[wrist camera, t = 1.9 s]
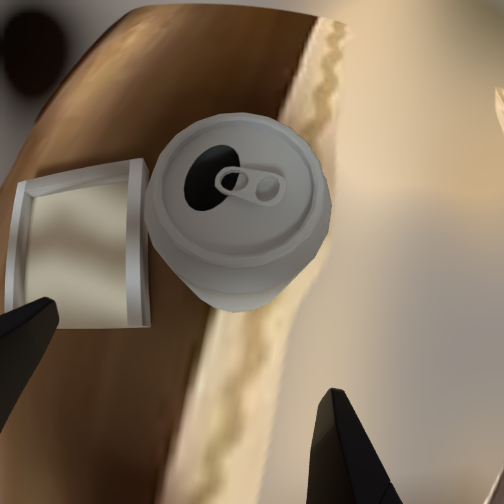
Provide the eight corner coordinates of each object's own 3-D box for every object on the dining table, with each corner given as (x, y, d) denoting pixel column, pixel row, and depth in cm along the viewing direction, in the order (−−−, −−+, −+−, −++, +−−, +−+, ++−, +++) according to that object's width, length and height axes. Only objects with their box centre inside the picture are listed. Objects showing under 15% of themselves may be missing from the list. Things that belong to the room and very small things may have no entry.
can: (209, 196, 23) (189, 79, 12) (304, 231, 23) (362, 135, 11) (167, 288, 21) (94, 235, 10) (268, 329, 21) (306, 322, 9)
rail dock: (151, 326, 21) (142, 325, 19) (20, 327, 20) (4, 325, 18) (149, 171, 24) (142, 157, 22) (30, 192, 23) (18, 182, 21)
